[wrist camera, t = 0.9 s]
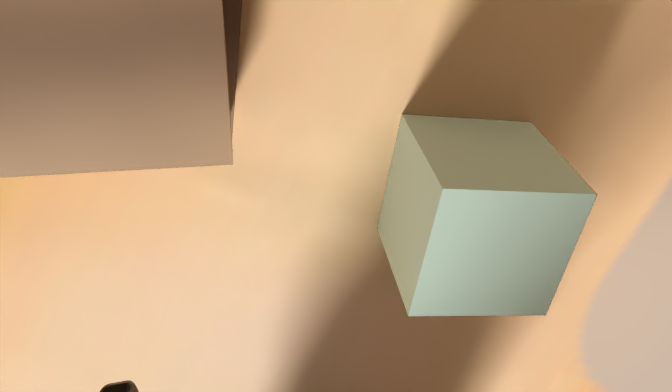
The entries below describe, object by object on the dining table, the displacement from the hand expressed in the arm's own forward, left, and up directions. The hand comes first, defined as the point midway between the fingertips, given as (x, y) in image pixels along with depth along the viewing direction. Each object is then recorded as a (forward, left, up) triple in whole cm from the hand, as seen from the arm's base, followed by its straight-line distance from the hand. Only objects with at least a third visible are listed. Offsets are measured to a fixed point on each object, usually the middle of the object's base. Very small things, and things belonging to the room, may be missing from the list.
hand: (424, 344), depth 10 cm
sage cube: (-5, -6, -13) cm, 15 cm away
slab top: (+1, +6, -10) cm, 12 cm away
